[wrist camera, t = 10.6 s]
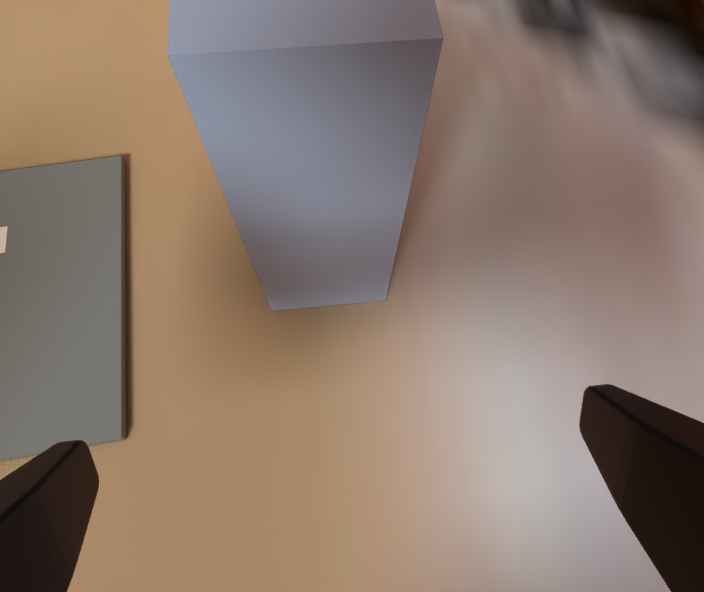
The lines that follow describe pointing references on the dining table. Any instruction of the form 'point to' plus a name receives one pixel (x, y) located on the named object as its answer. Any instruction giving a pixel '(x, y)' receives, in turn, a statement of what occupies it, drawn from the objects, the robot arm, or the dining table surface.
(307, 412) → the dining table surface
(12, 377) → the board
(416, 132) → the grey-blue tall block
